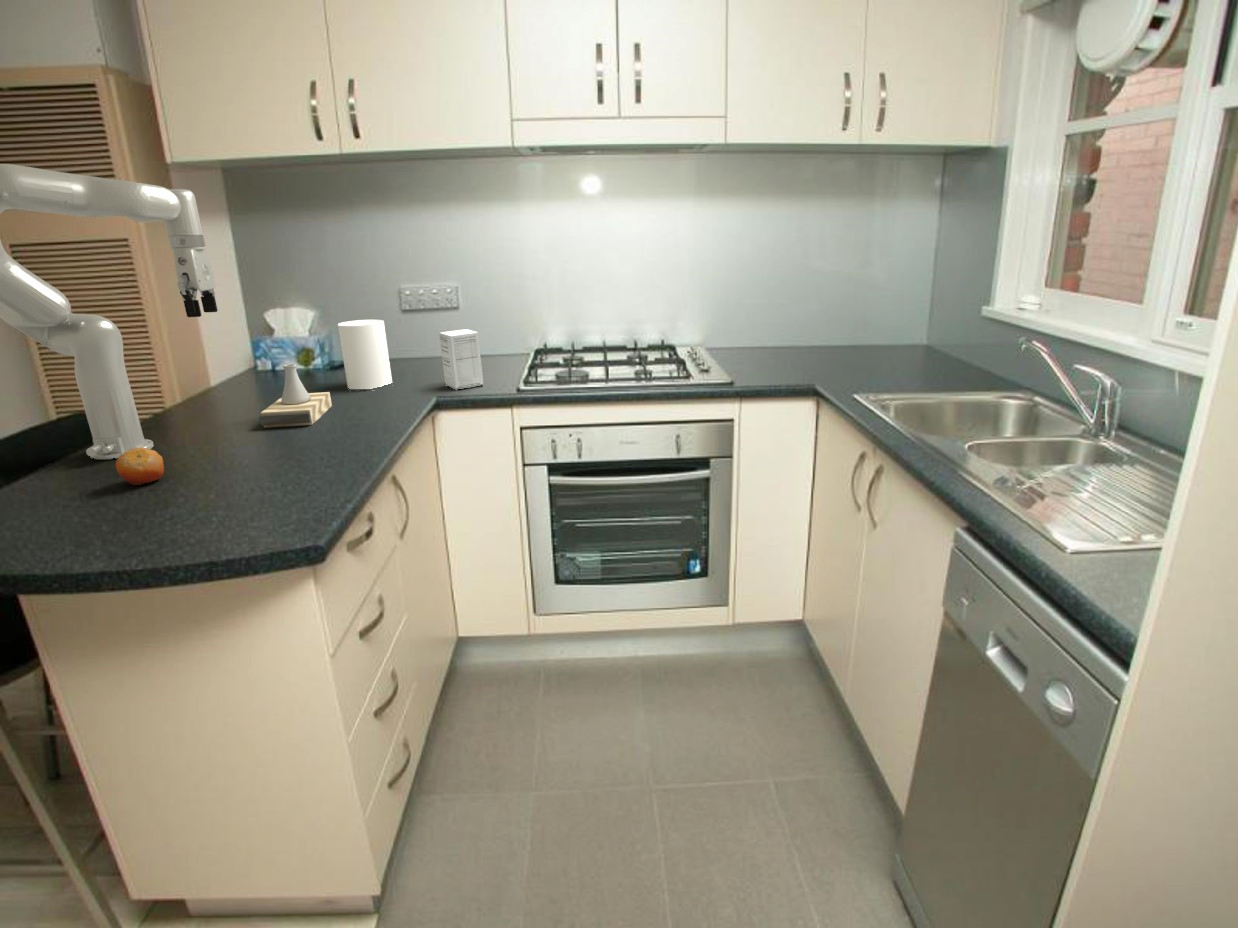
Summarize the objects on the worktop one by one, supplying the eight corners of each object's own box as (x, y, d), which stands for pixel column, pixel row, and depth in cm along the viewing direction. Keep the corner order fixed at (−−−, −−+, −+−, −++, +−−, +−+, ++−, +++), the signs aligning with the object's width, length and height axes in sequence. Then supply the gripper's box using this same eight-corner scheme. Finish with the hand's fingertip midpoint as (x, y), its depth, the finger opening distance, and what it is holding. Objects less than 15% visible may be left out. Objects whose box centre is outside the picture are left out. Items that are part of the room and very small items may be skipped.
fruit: (153, 464, 151) (152, 437, 146) (170, 489, 148) (170, 461, 144) (109, 475, 145) (107, 447, 140) (126, 501, 142) (124, 473, 138)
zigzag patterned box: (310, 426, 182) (307, 411, 180) (261, 429, 180) (258, 414, 179) (331, 405, 202) (329, 392, 201) (287, 408, 201) (285, 394, 199)
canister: (346, 392, 217) (335, 327, 211) (349, 383, 230) (339, 321, 223) (392, 388, 221) (383, 324, 214) (393, 380, 233) (384, 318, 226)
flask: (300, 405, 186) (293, 368, 183) (275, 405, 188) (268, 367, 185) (316, 398, 193) (310, 362, 190) (292, 398, 195) (285, 362, 191)
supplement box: (472, 381, 227) (467, 328, 222) (484, 386, 220) (479, 331, 214) (444, 386, 222) (438, 332, 217) (455, 391, 215) (449, 335, 209)
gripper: (187, 244, 165) (204, 318, 171) (217, 242, 182) (231, 309, 187) (153, 245, 165) (171, 319, 170) (186, 243, 181) (201, 311, 186)
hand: (202, 314), depth 179 cm, fingers open, 9 cm apart
